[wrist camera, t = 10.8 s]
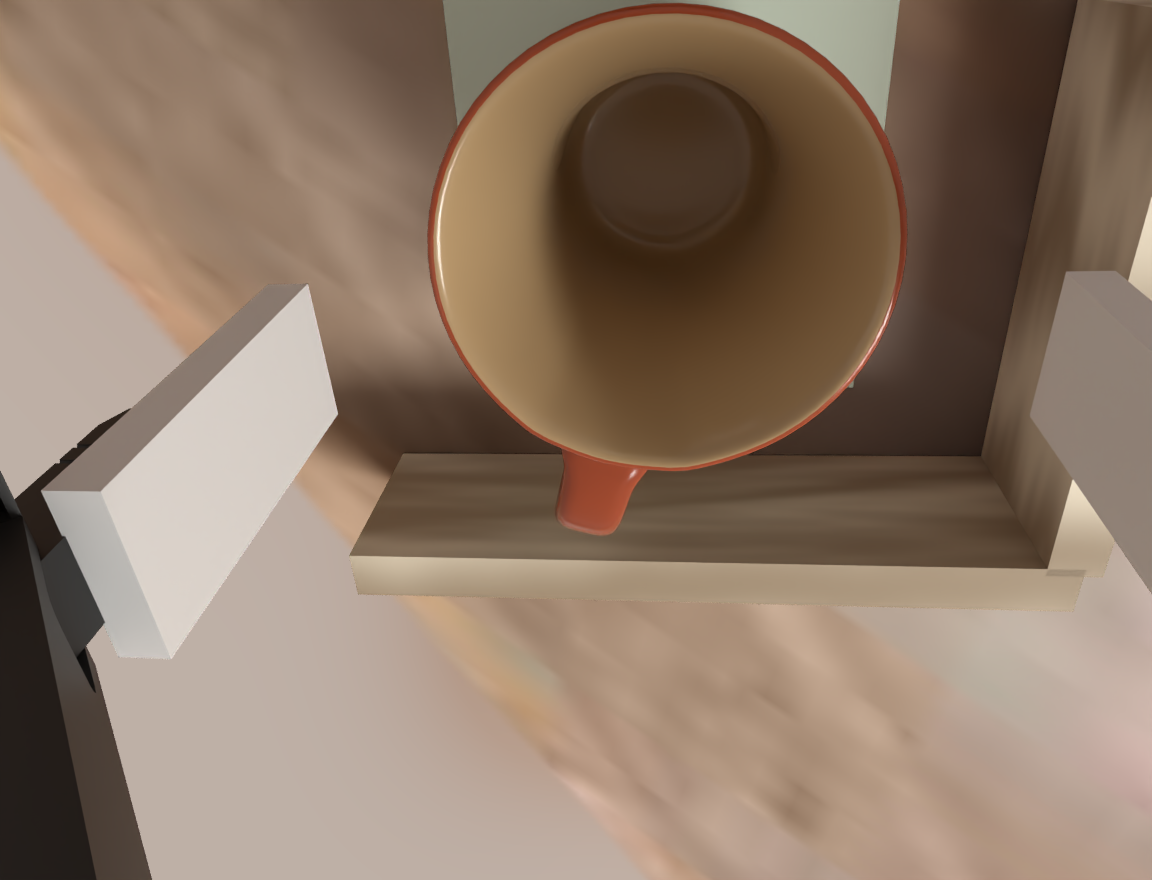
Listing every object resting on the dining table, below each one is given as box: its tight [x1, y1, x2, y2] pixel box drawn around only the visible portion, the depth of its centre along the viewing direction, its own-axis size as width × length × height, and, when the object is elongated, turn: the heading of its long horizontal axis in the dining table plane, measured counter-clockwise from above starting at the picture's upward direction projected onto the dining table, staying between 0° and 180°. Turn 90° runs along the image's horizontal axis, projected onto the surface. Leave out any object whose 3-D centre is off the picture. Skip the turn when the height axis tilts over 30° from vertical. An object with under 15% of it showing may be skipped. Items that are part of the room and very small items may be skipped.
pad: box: [443, 0, 900, 388], centre depth 25 cm, size 12×12×1 cm
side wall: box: [981, 0, 1152, 577], centre depth 23 cm, size 14×2×6 cm, turn 3°
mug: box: [427, 3, 908, 536], centre depth 21 cm, size 12×9×10 cm
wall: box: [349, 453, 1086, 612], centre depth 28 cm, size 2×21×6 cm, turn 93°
